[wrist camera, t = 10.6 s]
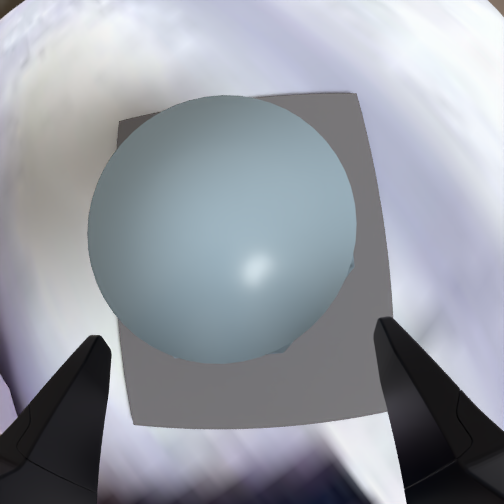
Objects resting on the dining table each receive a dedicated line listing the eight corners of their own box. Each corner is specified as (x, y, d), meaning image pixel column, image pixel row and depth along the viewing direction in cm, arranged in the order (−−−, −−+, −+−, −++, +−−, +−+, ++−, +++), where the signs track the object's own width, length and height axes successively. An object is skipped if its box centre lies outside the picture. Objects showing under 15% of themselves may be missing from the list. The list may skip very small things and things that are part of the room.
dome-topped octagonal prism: (316, 314, 17) (368, 349, 7) (189, 324, 17) (96, 362, 7) (303, 189, 18) (331, 86, 8) (181, 201, 18) (95, 121, 8)
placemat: (391, 407, 16) (393, 410, 16) (136, 422, 17) (133, 424, 17) (355, 96, 19) (356, 93, 18) (121, 123, 20) (119, 121, 19)
